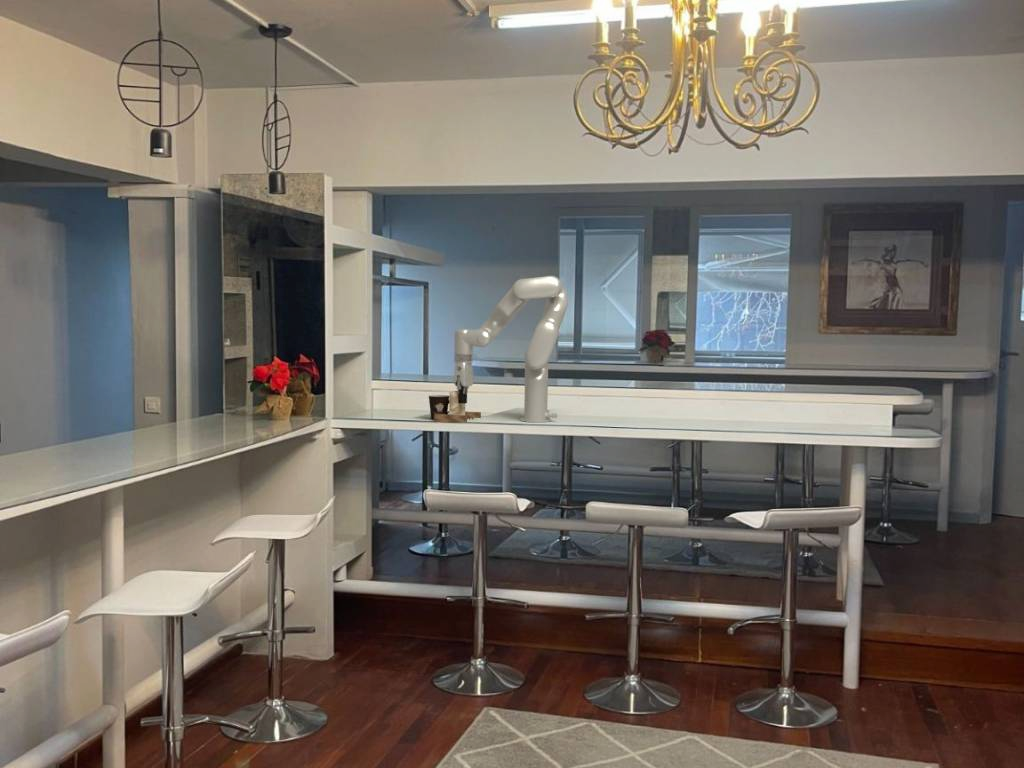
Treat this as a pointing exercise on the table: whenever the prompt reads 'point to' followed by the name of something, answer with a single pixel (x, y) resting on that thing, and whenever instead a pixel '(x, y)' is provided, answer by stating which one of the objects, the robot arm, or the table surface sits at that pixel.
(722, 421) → the table surface
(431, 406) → the coffee mug
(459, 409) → the ejector plate
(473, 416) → the mug holder
